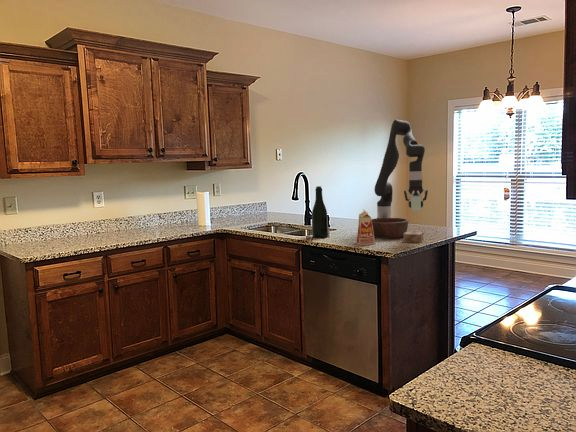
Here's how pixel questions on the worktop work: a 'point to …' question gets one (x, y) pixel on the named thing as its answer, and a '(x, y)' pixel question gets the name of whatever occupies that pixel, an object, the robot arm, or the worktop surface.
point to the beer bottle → (319, 216)
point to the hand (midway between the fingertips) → (415, 207)
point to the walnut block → (413, 237)
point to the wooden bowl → (389, 227)
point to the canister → (415, 203)
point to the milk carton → (365, 230)
